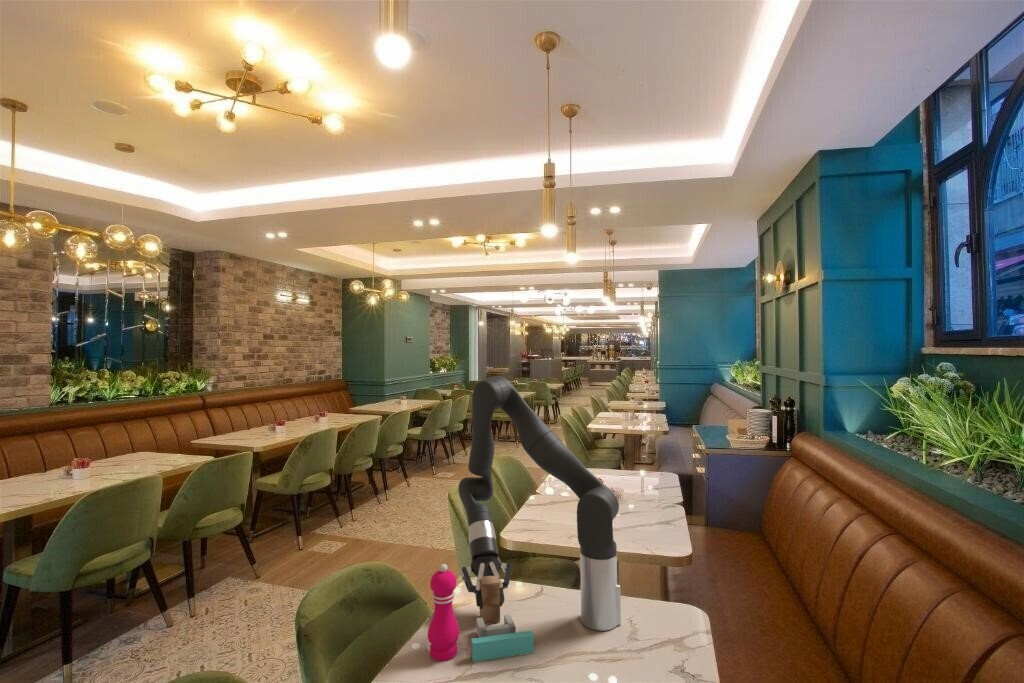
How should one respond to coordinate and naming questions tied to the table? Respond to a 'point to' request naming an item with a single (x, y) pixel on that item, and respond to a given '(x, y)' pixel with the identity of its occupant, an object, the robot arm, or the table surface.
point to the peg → (490, 599)
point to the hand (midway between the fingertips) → (491, 606)
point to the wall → (502, 645)
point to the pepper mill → (443, 616)
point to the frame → (496, 627)
